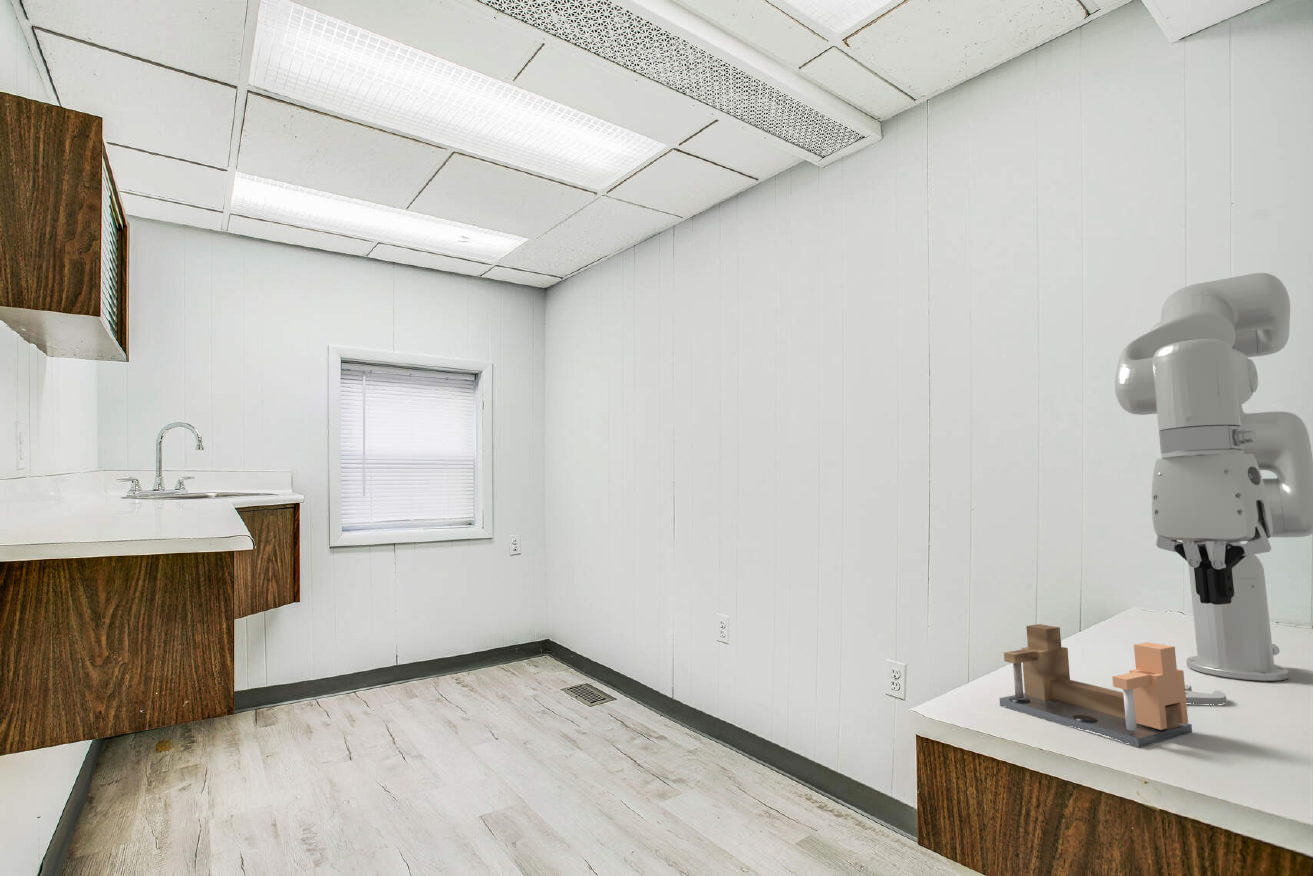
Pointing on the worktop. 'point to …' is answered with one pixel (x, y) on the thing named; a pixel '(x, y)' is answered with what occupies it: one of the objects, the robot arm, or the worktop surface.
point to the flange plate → (1092, 720)
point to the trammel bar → (1063, 676)
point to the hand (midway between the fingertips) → (1216, 602)
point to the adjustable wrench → (1204, 697)
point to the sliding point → (1152, 687)
